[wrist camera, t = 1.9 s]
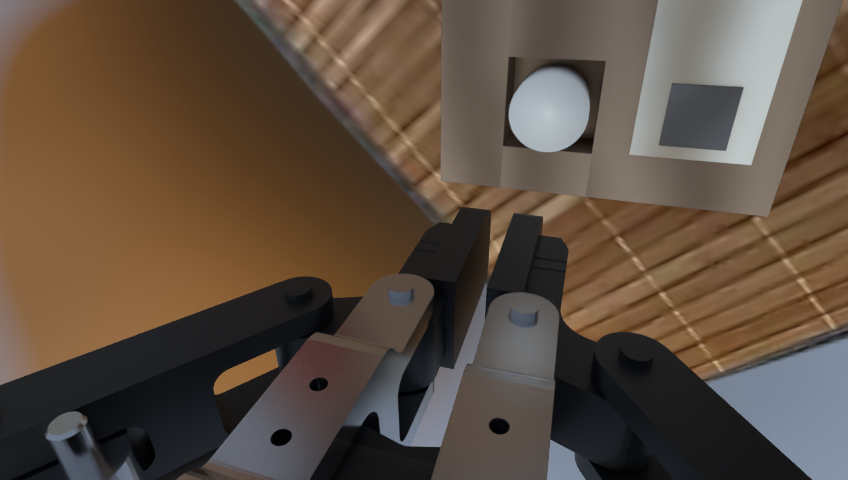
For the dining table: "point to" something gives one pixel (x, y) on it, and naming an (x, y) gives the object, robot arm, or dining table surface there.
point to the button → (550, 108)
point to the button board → (636, 95)
